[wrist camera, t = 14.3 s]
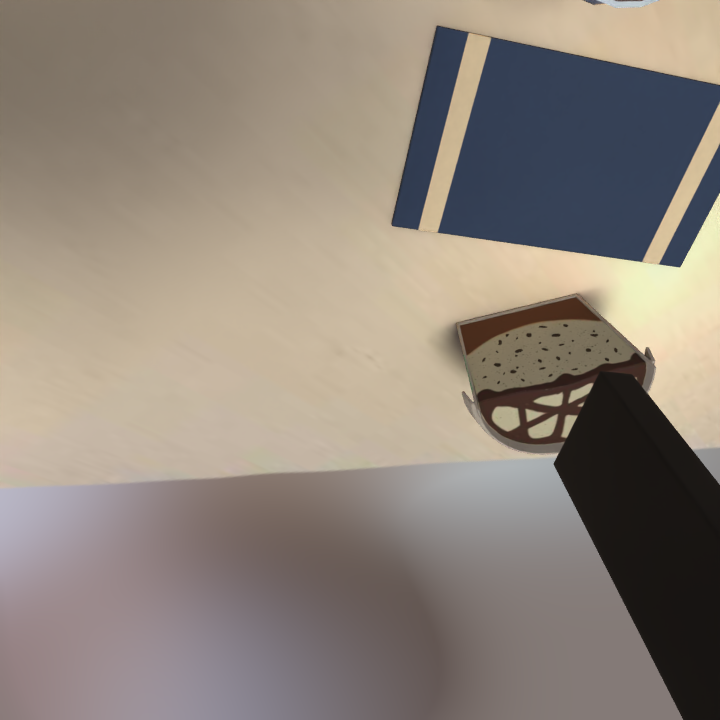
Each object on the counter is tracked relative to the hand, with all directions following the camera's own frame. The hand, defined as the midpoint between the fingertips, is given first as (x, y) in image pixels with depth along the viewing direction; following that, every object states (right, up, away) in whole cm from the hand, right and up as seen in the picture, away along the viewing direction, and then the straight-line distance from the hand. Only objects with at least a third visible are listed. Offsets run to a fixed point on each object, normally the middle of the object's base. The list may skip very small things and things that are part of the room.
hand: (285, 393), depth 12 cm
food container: (+14, +2, +36) cm, 38 cm away
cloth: (+16, +14, +28) cm, 34 cm away
